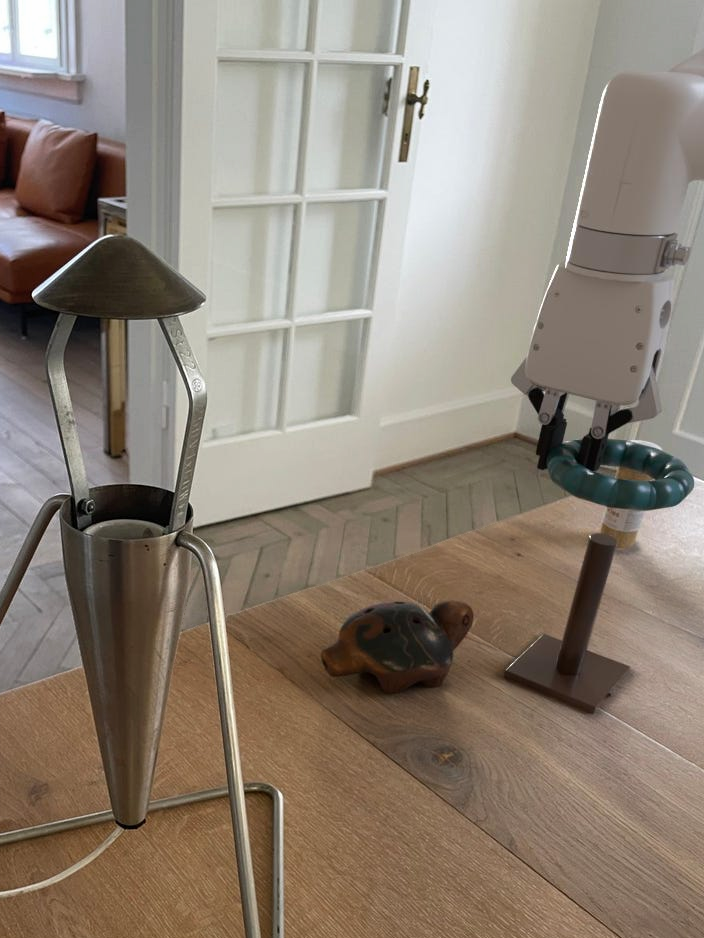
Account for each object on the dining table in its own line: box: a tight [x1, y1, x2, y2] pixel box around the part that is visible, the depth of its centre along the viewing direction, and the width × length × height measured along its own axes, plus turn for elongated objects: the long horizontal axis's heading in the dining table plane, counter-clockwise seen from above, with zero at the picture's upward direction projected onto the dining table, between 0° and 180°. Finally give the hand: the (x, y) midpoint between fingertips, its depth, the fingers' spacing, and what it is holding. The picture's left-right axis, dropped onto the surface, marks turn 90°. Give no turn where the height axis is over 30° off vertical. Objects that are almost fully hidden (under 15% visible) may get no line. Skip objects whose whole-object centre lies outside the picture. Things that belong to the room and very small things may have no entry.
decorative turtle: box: [320, 599, 474, 694], centre depth 92 cm, size 10×15×8 cm, turn 112°
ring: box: [546, 438, 695, 512], centre depth 83 cm, size 12×12×2 cm
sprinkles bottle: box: [599, 439, 664, 549], centre depth 116 cm, size 5×5×13 cm
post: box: [503, 532, 631, 715], centre depth 91 cm, size 9×9×16 cm
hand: (565, 468), depth 86 cm, fingers closed on ring, 2 cm apart
